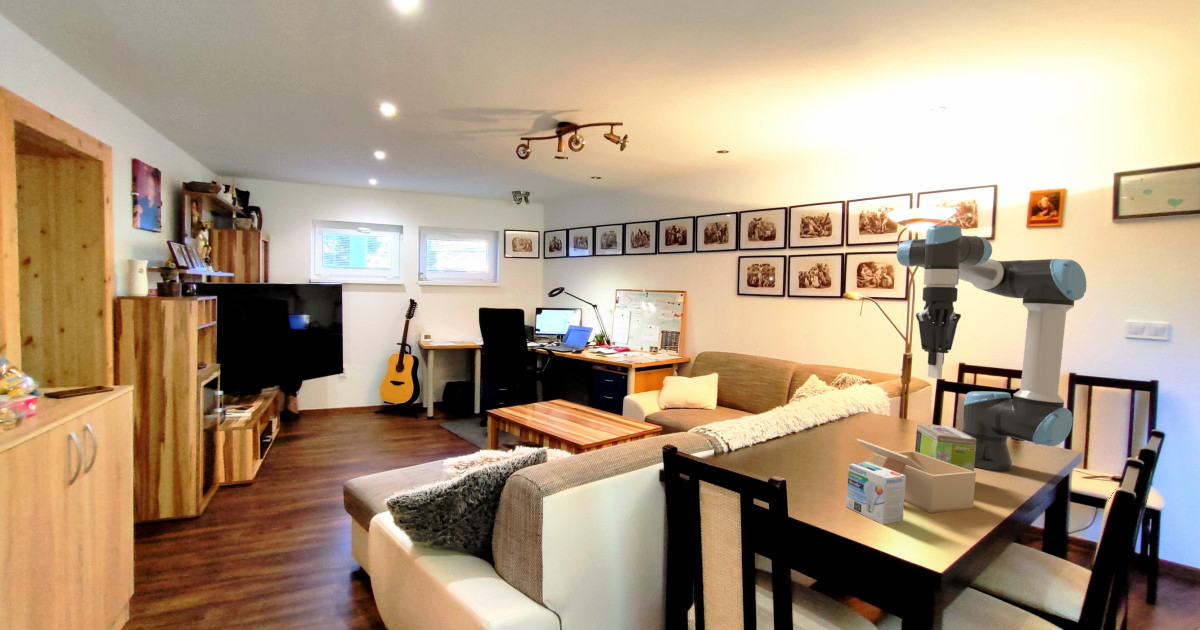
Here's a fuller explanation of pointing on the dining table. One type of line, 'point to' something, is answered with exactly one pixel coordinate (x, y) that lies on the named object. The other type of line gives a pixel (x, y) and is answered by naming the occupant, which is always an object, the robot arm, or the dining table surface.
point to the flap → (892, 458)
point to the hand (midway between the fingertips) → (934, 377)
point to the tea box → (946, 445)
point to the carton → (935, 483)
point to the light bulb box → (876, 492)
